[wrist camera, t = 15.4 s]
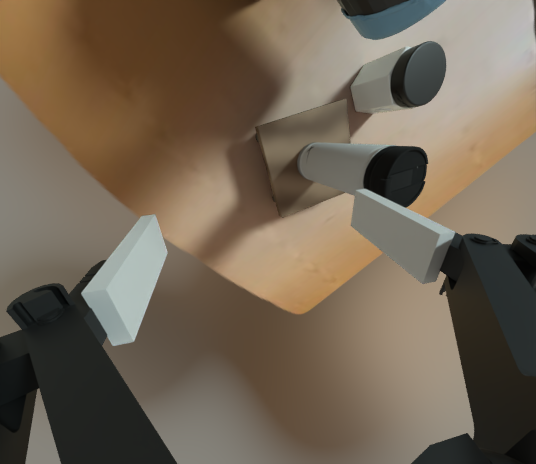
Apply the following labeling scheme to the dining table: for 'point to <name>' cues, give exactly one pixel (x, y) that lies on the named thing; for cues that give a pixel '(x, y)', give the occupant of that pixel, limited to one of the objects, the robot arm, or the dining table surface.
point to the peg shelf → (289, 147)
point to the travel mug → (366, 169)
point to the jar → (400, 79)
